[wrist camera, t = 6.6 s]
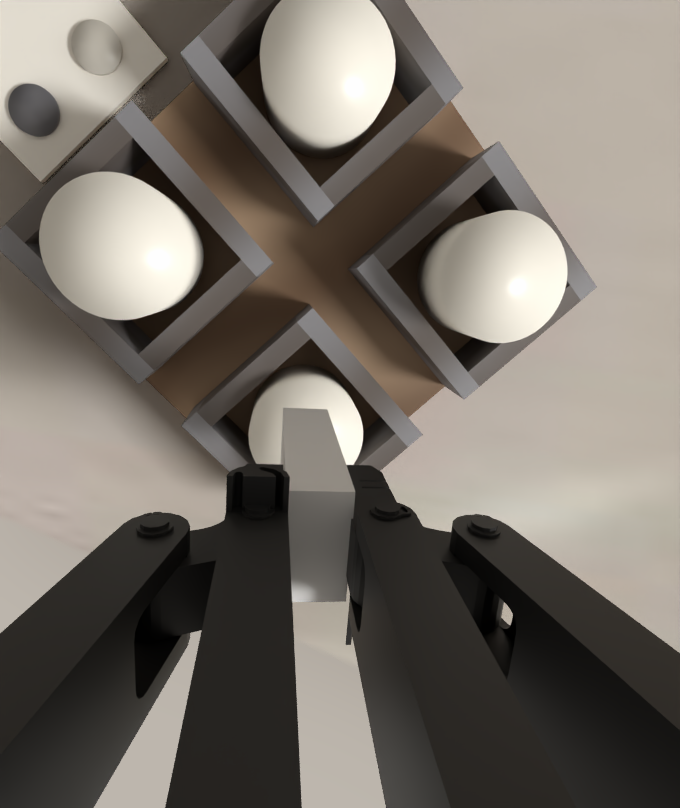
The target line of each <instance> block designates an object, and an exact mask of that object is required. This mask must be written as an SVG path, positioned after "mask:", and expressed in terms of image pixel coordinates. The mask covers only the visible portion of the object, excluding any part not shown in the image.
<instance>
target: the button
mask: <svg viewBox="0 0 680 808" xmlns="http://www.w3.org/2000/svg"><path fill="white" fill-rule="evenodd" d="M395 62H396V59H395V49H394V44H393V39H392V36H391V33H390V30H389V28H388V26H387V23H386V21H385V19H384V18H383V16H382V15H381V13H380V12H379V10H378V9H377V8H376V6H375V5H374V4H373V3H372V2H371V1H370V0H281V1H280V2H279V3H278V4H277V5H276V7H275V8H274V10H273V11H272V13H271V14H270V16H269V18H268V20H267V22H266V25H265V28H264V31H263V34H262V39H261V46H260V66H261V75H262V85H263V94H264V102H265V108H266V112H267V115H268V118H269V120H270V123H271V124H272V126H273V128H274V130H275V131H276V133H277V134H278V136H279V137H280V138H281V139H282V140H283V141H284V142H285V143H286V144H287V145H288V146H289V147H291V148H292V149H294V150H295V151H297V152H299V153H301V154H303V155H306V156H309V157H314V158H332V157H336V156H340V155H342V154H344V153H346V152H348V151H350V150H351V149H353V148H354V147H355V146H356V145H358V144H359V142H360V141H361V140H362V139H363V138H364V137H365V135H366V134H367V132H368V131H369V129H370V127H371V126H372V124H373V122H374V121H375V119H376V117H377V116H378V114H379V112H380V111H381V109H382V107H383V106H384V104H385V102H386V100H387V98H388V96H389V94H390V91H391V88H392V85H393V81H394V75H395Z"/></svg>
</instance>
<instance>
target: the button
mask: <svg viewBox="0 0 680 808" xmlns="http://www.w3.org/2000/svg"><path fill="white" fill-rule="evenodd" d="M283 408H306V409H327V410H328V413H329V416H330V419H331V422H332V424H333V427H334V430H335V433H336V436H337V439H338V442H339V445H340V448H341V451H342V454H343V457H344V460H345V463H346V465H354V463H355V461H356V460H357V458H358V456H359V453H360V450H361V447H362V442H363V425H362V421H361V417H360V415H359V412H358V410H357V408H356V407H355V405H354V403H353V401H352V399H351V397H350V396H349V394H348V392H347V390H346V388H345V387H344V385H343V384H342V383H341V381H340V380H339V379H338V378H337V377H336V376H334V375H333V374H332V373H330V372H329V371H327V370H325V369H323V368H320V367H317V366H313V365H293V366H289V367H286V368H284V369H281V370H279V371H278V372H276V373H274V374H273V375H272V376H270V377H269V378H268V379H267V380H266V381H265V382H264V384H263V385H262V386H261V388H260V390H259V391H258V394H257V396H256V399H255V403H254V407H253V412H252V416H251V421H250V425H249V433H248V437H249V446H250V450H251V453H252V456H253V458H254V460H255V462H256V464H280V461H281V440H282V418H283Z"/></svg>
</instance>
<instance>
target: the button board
mask: <svg viewBox="0 0 680 808" xmlns="http://www.w3.org/2000/svg"><path fill="white" fill-rule="evenodd" d="M280 1H281V0H233V1H232V2H231V3H230V4H229V5H228V6H227V7H226V8H225V9H224V10H223V11H222V12H221V13H220V14H219V15H218V16H217V17H216V18H215V19H214V20H213V21H212V22H211V23H210V24H209V25H208V26H207V27H206V28H205V29H204V30H203V31H202V32H201V33H200V34H199V35H198V36H197V37H196V38H195V39H194V40H193V41H192V42H191V43H190V44H189V45H188V46H187V47H186V48H185V49H184V50H183V51H181V52H180V53H181V55H182V58H183V60H184V62H185V64H186V66H187V68H188V70H189V73H190V75H191V77H192V79H193V81H192V82H191V83H190V84H189V85H188V86H187V87H186V88H185V89H184V90H183V91H182V92H181V93H180V94H179V95H178V96H177V97H176V98H175V99H174V100H173V101H172V102H171V103H170V104H169V105H168V106H167V107H166V108H165V109H164V110H162V111H161V112H160V113H159V114H158V115H157V116H156V117H155V118H154V119H153V120H152V121H150V120H149V119H148V118H147V117H146V116H145V115H144V113H143V112H142V111H141V110H140V109H139V108H138V106H137V105H136V104H135V103H134V102H133V101H130V102H129V103H128V104H127V105H126V106H125V107H124V108H123V109H122V110H121V111H120V112H119V113H118V114H117V115H116V116H115V117H114V118H113V119H112V120H111V121H110V122H109V123H108V124H107V125H106V126H105V127H104V128H103V129H102V130H101V131H100V132H99V133H98V134H97V135H96V136H95V137H94V138H93V139H92V140H91V141H90V142H89V143H88V144H87V145H86V146H85V147H84V148H83V149H82V150H81V151H80V152H78V153H77V154H76V155H75V156H74V157H73V158H72V159H71V160H70V161H69V162H68V163H67V164H66V165H65V166H64V167H63V168H62V169H61V170H60V171H59V172H58V173H57V174H56V175H55V176H54V177H53V178H52V179H51V180H50V181H49V182H48V183H47V184H46V185H45V186H44V187H43V188H42V189H41V190H40V191H39V192H38V193H37V194H36V195H35V196H34V197H33V198H32V199H31V200H30V201H29V202H27V203H26V204H25V205H24V206H23V207H22V208H21V209H20V210H19V211H18V212H17V213H16V214H15V215H14V216H13V217H12V218H11V219H10V220H9V221H8V222H7V223H6V224H5V225H4V226H3V227H2V228H1V229H0V251H1V252H2V253H3V254H4V255H5V256H6V257H7V258H8V259H9V260H10V261H11V262H12V263H13V264H14V265H15V266H16V267H17V268H18V269H19V270H20V271H22V272H23V273H24V274H25V275H26V276H27V277H28V278H29V279H30V280H31V281H32V282H33V283H34V284H35V285H36V286H37V287H38V288H39V289H40V290H41V291H42V292H43V293H44V294H45V295H46V296H47V297H49V298H50V299H51V300H52V301H53V302H54V303H55V304H56V305H57V306H58V307H59V308H60V309H61V310H62V311H63V312H64V313H65V314H66V315H67V316H68V317H69V318H70V319H71V320H72V321H73V322H74V323H75V324H77V325H78V326H79V327H80V328H81V329H82V330H83V331H84V332H85V333H86V334H87V335H88V336H89V337H90V338H91V339H92V340H93V341H94V342H95V343H96V344H97V345H98V346H99V347H100V348H101V349H102V350H103V351H105V352H106V353H107V354H108V355H109V356H110V357H111V358H112V359H113V360H114V361H115V362H116V363H117V364H118V365H119V366H120V367H121V368H122V369H123V370H124V371H125V372H126V373H127V374H128V375H129V376H130V377H132V378H133V379H134V380H135V381H136V382H137V383H138V384H140V383H141V382H143V381H144V380H145V379H146V380H147V381H148V382H149V383H150V384H151V385H152V386H153V387H154V388H155V389H156V390H157V391H158V392H159V393H160V394H162V395H163V396H164V397H165V398H166V399H167V400H168V401H169V402H170V403H171V404H172V405H173V406H174V407H175V408H176V409H177V410H178V411H179V412H180V413H181V414H182V415H183V416H184V417H185V418H186V420H185V421H184V423H183V424H182V427H183V428H184V429H185V430H186V431H188V432H189V433H190V434H191V435H192V436H193V437H194V438H195V439H196V440H197V441H198V442H199V443H200V444H201V445H202V446H203V447H204V448H205V449H206V450H207V451H208V452H209V453H210V454H211V455H212V456H213V457H215V458H216V459H217V460H218V461H219V462H220V463H221V464H222V465H223V466H224V467H225V468H226V469H227V470H228V471H229V472H230V471H232V470H234V469H236V468H238V467H243V466H245V465H246V464H256V462H255V460H254V458H253V456H252V453H251V450H250V446H249V437H248V433H249V425H250V421H251V416H252V412H253V407H254V403H255V399H256V396H257V394H258V391H259V390H260V388H261V386H262V385H263V384H264V382H265V381H266V380H267V379H268V378H269V377H270V376H272V375H273V374H274V373H276V372H278V371H279V370H281V369H284V368H286V367H289V366H293V365H313V366H317V367H320V368H323V369H325V370H327V371H329V372H330V373H332V374H333V375H334V376H336V377H337V378H338V379H339V380H340V381H341V383H342V384H343V385H344V387H345V388H346V390H347V392H348V394H349V396H350V397H351V399H352V401H353V403H354V405H355V407H356V408H357V410H358V412H359V415H360V417H361V421H362V425H363V442H362V447H361V450H360V453H359V456H358V458H357V460H356V461H355V463H354V465H371V466H373V467H374V468H376V469H377V470H379V471H380V470H382V469H383V468H384V467H385V466H386V465H387V464H389V463H390V462H391V461H392V460H393V459H395V458H396V457H397V456H398V455H399V454H400V453H402V452H403V451H404V450H405V449H406V448H407V447H409V446H410V445H411V444H412V443H413V442H415V441H416V440H417V439H418V438H419V437H420V436H422V435H423V434H422V433H421V432H420V431H419V430H418V429H417V427H416V426H415V425H414V424H413V423H412V422H411V420H410V419H409V418H408V417H409V416H411V415H412V414H413V413H414V412H415V411H416V410H418V409H419V408H420V407H421V406H422V405H423V404H425V403H426V402H427V401H428V400H429V399H430V398H432V397H433V396H434V395H435V394H436V393H437V392H439V391H440V390H441V389H442V388H443V387H447V388H448V389H450V390H451V391H453V392H454V393H456V394H457V395H458V396H460V397H461V398H463V399H465V398H467V397H468V396H469V395H470V394H471V393H472V392H474V391H475V390H476V389H477V388H478V387H480V386H481V385H482V384H483V383H484V382H485V381H487V380H488V379H489V378H490V377H491V376H492V375H494V374H495V373H496V372H497V371H498V370H500V369H501V368H502V367H503V366H504V365H505V364H507V363H508V362H509V361H510V360H511V359H513V358H514V357H515V356H516V355H517V354H518V353H520V352H521V351H522V350H523V349H524V348H526V347H527V346H528V345H529V344H530V343H531V342H533V341H534V340H535V339H536V338H537V337H539V336H540V335H541V334H542V333H543V332H544V331H546V330H547V329H548V328H549V327H550V326H552V325H553V324H554V323H555V322H556V321H557V320H559V319H560V318H561V317H562V316H563V315H565V314H566V313H567V312H568V311H569V310H570V309H572V308H573V307H574V306H575V305H576V304H578V303H579V302H580V301H581V300H582V299H583V298H585V297H586V296H587V295H588V294H589V293H590V292H592V291H593V290H594V289H595V288H596V287H597V286H596V285H595V283H594V282H593V280H592V279H591V277H590V276H589V274H588V273H587V271H586V270H585V268H584V267H583V265H582V264H581V263H580V261H579V260H578V258H577V257H576V255H575V254H574V252H573V251H572V249H571V248H570V246H569V245H568V243H567V242H566V240H565V239H564V237H563V236H562V234H561V233H560V231H559V230H558V228H557V227H556V225H555V224H554V222H553V221H552V219H551V218H550V216H549V215H548V213H547V212H546V210H545V209H544V207H543V206H542V204H541V203H540V201H539V200H538V198H537V197H536V195H535V194H534V193H533V191H532V190H531V188H530V187H529V185H528V184H527V182H526V181H525V179H524V178H523V176H522V175H521V173H520V172H519V170H518V169H517V167H516V166H515V164H514V163H513V161H512V160H511V158H510V157H509V155H508V154H507V152H506V151H505V149H504V148H503V146H502V145H501V143H500V142H497V143H495V144H494V145H492V146H490V147H489V148H487V149H486V150H484V149H483V148H482V146H481V145H480V143H479V142H478V141H477V139H476V138H475V136H474V135H473V133H472V132H471V130H470V129H469V127H468V126H467V124H466V123H465V122H464V120H463V119H462V117H461V116H460V114H459V113H458V111H457V110H456V108H455V107H454V105H453V104H452V103H451V100H452V99H453V98H454V97H455V96H456V95H457V94H458V93H459V92H460V91H461V90H462V89H463V87H462V85H461V84H460V82H459V81H458V79H457V78H456V76H455V75H454V73H453V72H452V70H451V69H450V67H449V66H448V64H447V63H446V61H445V60H444V58H443V57H442V56H441V54H440V53H439V51H438V50H437V48H436V47H435V45H434V44H433V42H432V41H431V39H430V38H429V36H428V35H427V33H426V32H425V30H424V29H423V27H422V26H421V24H420V23H419V21H418V20H417V18H416V17H415V15H414V14H413V12H412V11H411V9H410V8H409V6H408V5H407V3H406V2H405V0H370V1H371V2H372V3H373V4H374V5H375V6H376V8H377V9H378V10H379V12H380V13H381V15H382V16H383V18H384V19H385V21H386V23H387V26H388V28H389V30H390V33H391V36H392V39H393V44H394V49H395V59H396V62H395V75H394V81H393V85H392V88H391V91H390V94H389V96H388V98H387V100H386V102H385V104H384V106H383V107H382V109H381V111H380V112H379V114H378V116H377V117H376V119H375V121H374V122H373V124H372V126H371V127H370V129H369V131H368V132H367V134H366V135H365V137H364V138H363V139H362V140H361V141H360V142H359V144H358V145H356V146H355V147H354V148H353V149H351V150H350V151H348V152H346V153H344V154H342V155H340V156H336V157H332V158H314V157H309V156H306V155H303V154H301V153H299V152H297V151H295V150H294V149H292V148H291V147H289V146H288V145H287V144H286V143H285V142H284V141H283V140H282V139H281V138H280V137H279V136H278V134H277V133H276V131H275V130H274V128H273V126H272V124H271V123H270V120H269V118H268V115H267V112H266V108H265V102H264V94H263V85H262V75H261V66H260V46H261V39H262V34H263V31H264V28H265V25H266V22H267V20H268V18H269V16H270V14H271V13H272V11H273V10H274V8H275V7H276V5H277V4H278V3H279V2H280ZM94 172H116V173H122V174H126V175H129V176H132V177H135V178H137V179H139V180H141V181H143V182H145V183H146V184H148V185H150V186H151V187H153V188H154V189H156V190H157V191H159V192H161V193H162V194H164V195H165V196H167V197H168V198H170V199H171V200H173V201H174V202H175V203H177V204H178V205H179V206H181V207H182V208H183V209H184V210H185V211H186V212H187V214H188V215H189V216H190V217H191V219H192V220H193V222H194V223H195V225H196V227H197V229H198V231H199V233H200V237H201V240H202V244H203V249H204V264H203V270H202V274H201V277H200V279H199V281H198V283H197V285H196V287H195V288H194V290H193V291H192V293H191V294H190V295H189V296H188V297H187V298H186V299H185V300H183V301H182V302H181V303H179V304H177V305H176V306H174V307H172V308H169V309H167V310H163V311H160V312H157V313H154V314H151V315H147V316H144V317H141V318H137V319H130V320H113V319H106V318H102V317H98V316H96V315H93V314H91V313H88V312H86V311H84V310H83V309H81V308H79V307H78V306H76V305H75V304H73V303H72V302H71V301H70V300H68V299H67V298H66V297H65V296H64V295H63V294H62V293H61V292H60V291H59V289H58V288H57V287H56V285H55V284H54V283H53V281H52V280H51V278H50V276H49V274H48V273H47V270H46V268H45V266H44V263H43V260H42V256H41V252H40V245H39V231H40V223H41V220H42V216H43V213H44V211H45V209H46V206H47V204H48V203H49V201H50V200H51V198H52V197H53V196H54V194H55V193H56V192H57V191H58V190H59V189H60V188H61V187H63V186H64V185H65V184H66V183H68V182H70V181H71V180H73V179H75V178H77V177H80V176H82V175H85V174H89V173H94ZM504 210H518V211H524V212H527V213H530V214H533V215H535V216H537V217H539V218H540V219H542V220H543V221H544V222H546V223H547V224H548V225H549V226H550V227H551V228H552V229H553V230H554V232H555V233H556V234H557V236H558V238H559V239H560V241H561V243H562V246H563V248H564V251H565V255H566V260H567V283H566V287H565V292H564V294H563V297H562V300H561V302H560V304H559V306H558V308H557V309H556V311H555V313H554V314H553V315H552V317H551V318H550V319H549V320H548V321H547V322H546V323H545V324H544V325H543V326H542V327H541V328H540V329H539V330H537V331H536V332H535V333H533V334H531V335H529V336H528V337H525V338H523V339H521V340H517V341H514V342H508V343H492V342H487V341H483V340H480V339H477V338H474V337H471V336H468V335H465V334H462V333H459V332H456V331H453V330H450V329H448V328H445V327H443V326H442V325H440V324H439V323H437V322H436V321H435V320H434V319H433V318H432V317H431V316H430V315H429V314H428V312H427V311H426V309H425V308H424V306H423V304H422V302H421V299H420V296H419V292H418V285H417V274H418V268H419V264H420V261H421V258H422V255H423V253H424V251H425V250H426V248H427V246H428V245H429V243H430V242H431V241H432V240H433V239H434V238H435V237H436V236H437V235H438V234H439V233H440V232H441V231H443V230H444V229H446V228H447V227H449V226H451V225H453V224H456V223H459V222H462V221H466V220H469V219H473V218H476V217H480V216H483V215H487V214H490V213H494V212H498V211H504Z"/></svg>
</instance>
